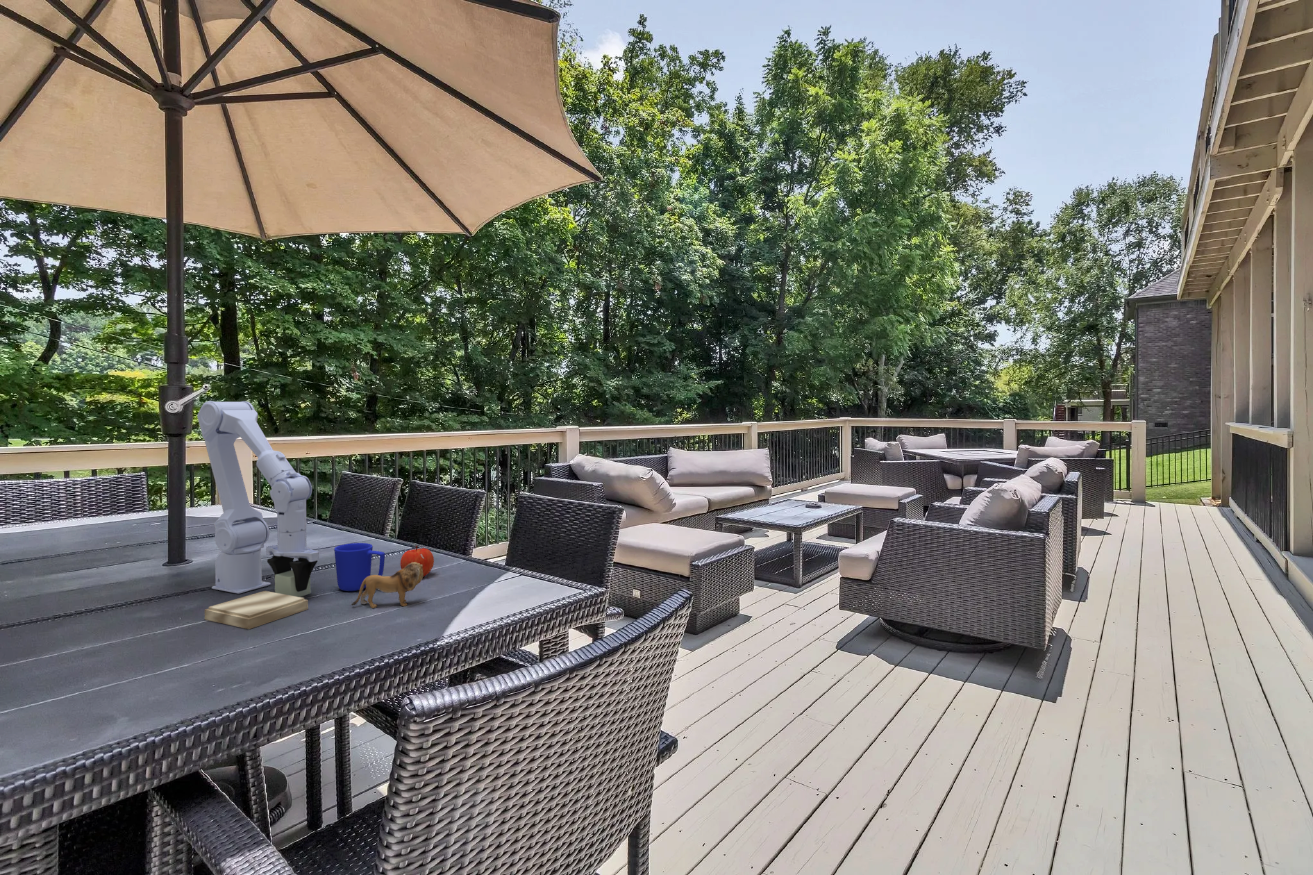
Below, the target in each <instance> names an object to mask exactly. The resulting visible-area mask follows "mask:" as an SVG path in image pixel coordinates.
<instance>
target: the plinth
mask: <svg viewBox="0 0 1313 875" xmlns="http://www.w3.org/2000/svg"><path fill="white" fill-rule="evenodd" d="M307 610H309V600H308V599H305V597H302V596H301V597H296V596H290V595H285V594H280V593H275V591H268V590H263V591H260V592H256V593H253V594H249V595H246V596H241V597H238V598H235V599H231V600H229V601H224V602H221V603H218V604H214V605H210V606H208V608H206V609H204V620H205V621H209V622H214V623H219V624H224V625H228V626H232V627H238V628H240V629H241V628H242V629H245V630H246V629H247V630H251V629H254V628H257V627H260V626H263V625H266V624H269V623H271V622H275V621H277V620H281V619H284V618H287V617H289V616H292V615H296V614H299V613H301V612H304V611H307Z"/></svg>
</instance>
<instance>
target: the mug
mask: <svg viewBox="0 0 1313 875" xmlns="http://www.w3.org/2000/svg"><path fill="white" fill-rule="evenodd" d="M373 547H374V546H373V545H372V544H371V543H366V542H354V543H353V542H351V543H346V544H345V543H344V544H340V545H337V546H335V547H334V549H333V550H334V562H335V571H336V582H337V587H338V588H339V590H341V591H344V592H356V591H360V587H361V584H362V582H363V581H364V579H365V578H366V577H368V576H370V575H371V573H372V571H371V570H372V561H373V560H372V559H373V555H377V556H379V568H378V574H377V575H379V576H383V575H384V570H385V569H384V568H385V560H386V558H385V557H386V553H385V552H384V551H379V550H373ZM364 589H366V584H365V586H364V588H363V590H364Z"/></svg>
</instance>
